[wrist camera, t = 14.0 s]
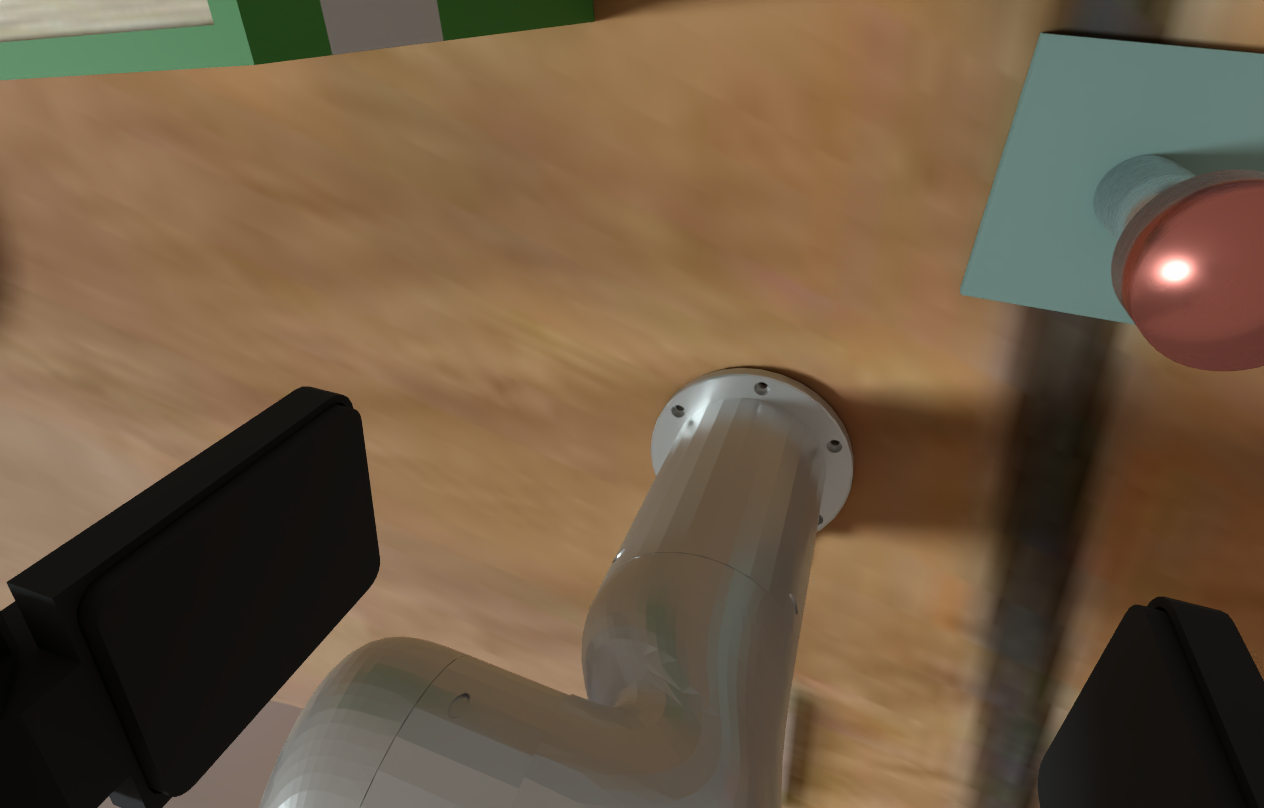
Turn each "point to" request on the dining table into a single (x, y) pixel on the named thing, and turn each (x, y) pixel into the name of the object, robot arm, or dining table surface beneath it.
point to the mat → (1103, 158)
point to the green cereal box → (243, 30)
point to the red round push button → (1189, 259)
